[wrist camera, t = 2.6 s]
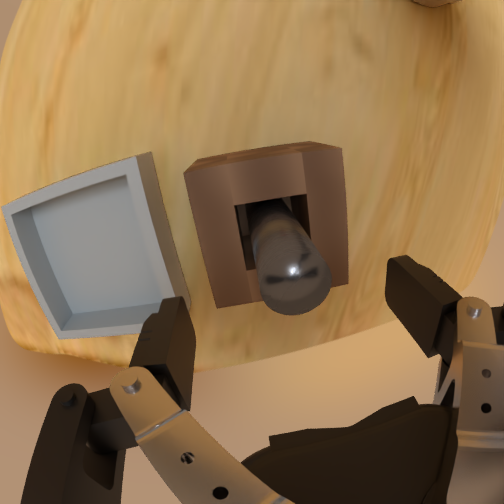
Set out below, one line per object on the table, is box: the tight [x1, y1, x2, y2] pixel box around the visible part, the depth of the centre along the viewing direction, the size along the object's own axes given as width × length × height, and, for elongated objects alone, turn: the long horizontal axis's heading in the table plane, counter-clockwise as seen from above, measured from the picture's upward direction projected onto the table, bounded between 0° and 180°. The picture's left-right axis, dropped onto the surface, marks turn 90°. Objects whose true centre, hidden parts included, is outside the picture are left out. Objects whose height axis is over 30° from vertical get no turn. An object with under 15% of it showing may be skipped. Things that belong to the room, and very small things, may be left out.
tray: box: [1, 152, 191, 339], centre depth 22 cm, size 14×14×4 cm
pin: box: [245, 197, 332, 315], centre depth 17 cm, size 3×3×12 cm
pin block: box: [184, 141, 348, 308], centre depth 20 cm, size 9×9×7 cm
